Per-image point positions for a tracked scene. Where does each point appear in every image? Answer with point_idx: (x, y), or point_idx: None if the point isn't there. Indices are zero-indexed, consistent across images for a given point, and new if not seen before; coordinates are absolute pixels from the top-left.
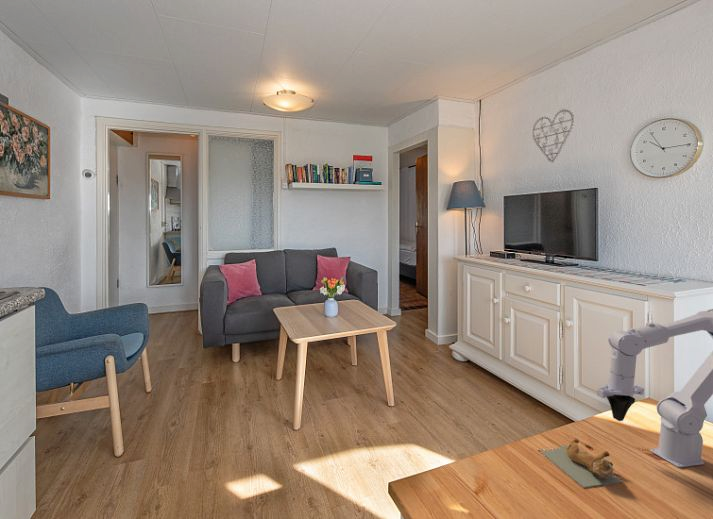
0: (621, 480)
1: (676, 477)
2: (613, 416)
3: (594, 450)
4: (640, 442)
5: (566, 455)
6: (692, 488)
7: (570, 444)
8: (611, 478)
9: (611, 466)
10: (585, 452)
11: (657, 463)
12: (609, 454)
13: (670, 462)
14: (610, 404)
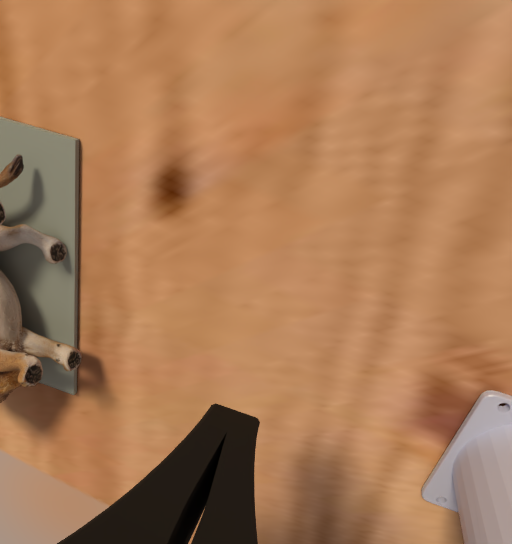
0: (71, 390)
1: (321, 490)
2: (207, 416)
3: (170, 226)
4: None
5: None
6: (296, 526)
7: (9, 167)
8: (43, 368)
9: None
10: (42, 249)
11: (371, 432)
12: (32, 386)
13: (434, 469)
14: (111, 509)
